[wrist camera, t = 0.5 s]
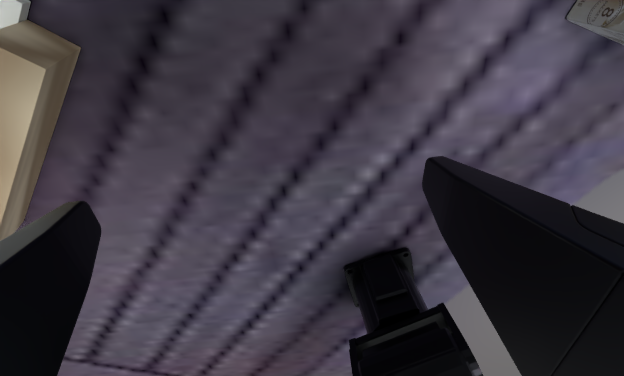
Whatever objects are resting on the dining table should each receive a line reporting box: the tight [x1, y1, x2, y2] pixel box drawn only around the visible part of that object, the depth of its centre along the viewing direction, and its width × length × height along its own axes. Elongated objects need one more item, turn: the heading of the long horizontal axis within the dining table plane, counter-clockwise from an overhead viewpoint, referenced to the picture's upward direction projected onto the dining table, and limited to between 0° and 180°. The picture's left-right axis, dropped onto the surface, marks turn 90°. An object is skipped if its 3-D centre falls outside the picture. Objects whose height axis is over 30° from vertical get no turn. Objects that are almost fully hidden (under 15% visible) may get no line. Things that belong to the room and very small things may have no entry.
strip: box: [0, 20, 81, 241], centre depth 19 cm, size 2×14×4 cm, turn 145°
